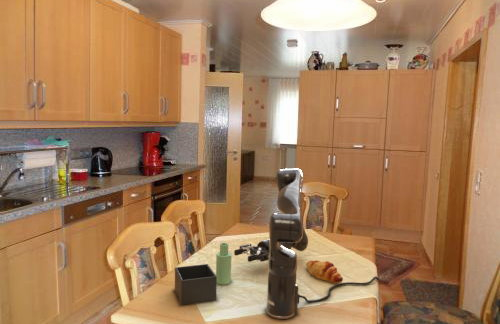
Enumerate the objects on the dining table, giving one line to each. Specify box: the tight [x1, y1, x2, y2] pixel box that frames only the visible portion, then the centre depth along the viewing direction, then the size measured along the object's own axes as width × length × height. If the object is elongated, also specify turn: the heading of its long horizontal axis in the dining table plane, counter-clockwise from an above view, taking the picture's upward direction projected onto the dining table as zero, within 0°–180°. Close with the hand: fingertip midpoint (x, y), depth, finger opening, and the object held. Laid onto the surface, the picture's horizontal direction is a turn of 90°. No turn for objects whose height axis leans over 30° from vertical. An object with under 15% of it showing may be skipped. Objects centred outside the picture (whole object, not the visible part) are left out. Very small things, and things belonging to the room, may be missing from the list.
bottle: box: [215, 242, 232, 286], centre depth 150 cm, size 6×6×15 cm
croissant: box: [305, 259, 344, 284], centre depth 159 cm, size 21×10×8 cm, turn 32°
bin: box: [174, 263, 217, 306], centre depth 138 cm, size 12×12×9 cm
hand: (241, 256), depth 156 cm, fingers open, 8 cm apart
